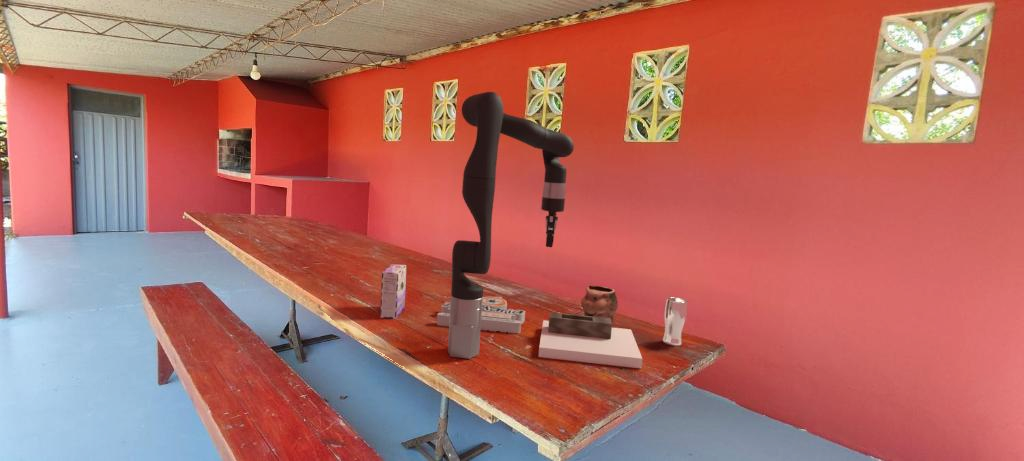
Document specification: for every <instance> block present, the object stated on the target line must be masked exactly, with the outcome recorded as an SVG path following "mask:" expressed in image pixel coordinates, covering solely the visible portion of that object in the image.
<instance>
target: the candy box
mask: <svg viewBox="0 0 1024 461" xmlns="http://www.w3.org/2000/svg"><path fill="white" fill-rule="evenodd" d="M406 279H407V265H406V264H396V263H392V264H390V265H389V266H388V267H387V268H385V269H384V270H382V272H381V285H380V286H381V287H380V289H381V290H380V308H379V309H380V311H379V313H380V314H379V318H381V319H388V320H389V319H390V320H391V319H393V320H396V319H397V318H398V317H399V316H400V314H401V313H402V312H403V310H404V309H405V307H406V306H405V305H406V289H407V288H406V286H407V284H406V282H407V280H406Z"/></svg>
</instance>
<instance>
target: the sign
mask: <svg viewBox="0 0 1024 461" xmlns="http://www.w3.org/2000/svg"><path fill="white" fill-rule="evenodd" d="M507 302H508V301H507V300H506V299H504V298H503V297H502V296H483V302H482V316H481V331H487V330H489V331H488V332H496V331H500V332H499V333H506V332H508V333H507V334H515V333H519V334H521V330H522V324H524V322H525V320H526V310H522V309H515V310H514V309H513V308H509V309H508V308H507V307H508V303H507ZM450 305H451V301H445V302H444V304H442V305H441V308H440V312H438V313H436V314H437V316H436V325H437V326H441V327H449V322H450Z"/></svg>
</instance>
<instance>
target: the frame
mask: <svg viewBox="0 0 1024 461" xmlns="http://www.w3.org/2000/svg"><path fill="white" fill-rule="evenodd" d="M548 321H549V327H548V332H549V333H558V334H567V335H576V336H586V337H595V338H604V339H611V331H612V328H613V321H612V322H611V318H602V317H592V316H584V314H583V315H582V314H581V315H580V314H573V313H571V314H570V313H562V312H554V311H552V312H551V311H550V312H549V317H548Z"/></svg>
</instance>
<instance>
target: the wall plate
mask: <svg viewBox="0 0 1024 461" xmlns="http://www.w3.org/2000/svg"><path fill="white" fill-rule="evenodd" d="M548 327H549V320H542V327H541V332H540V333H541V334H540V341H539V346H538V347H539V348H538V358H545V359H553V360H561V361H562V360H563V361H570V362H571V361H572V362H580V363H590V364H591V363H592V364H596V365H597V364H598V365H605V366H607V365H608V366H615V367H623V368H624V367H625V368H634V369H642V364H643V357H642V353H641V351H640V348H639V347H638V343H637V342H636V341H637V340H636V338H635V336H634V334H633V331H632V329H630V328H629V329H628V328H620V327H612V331H611V339H604V338H595V337H586V336H576V335H567V334H558V333H549V332H548Z"/></svg>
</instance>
